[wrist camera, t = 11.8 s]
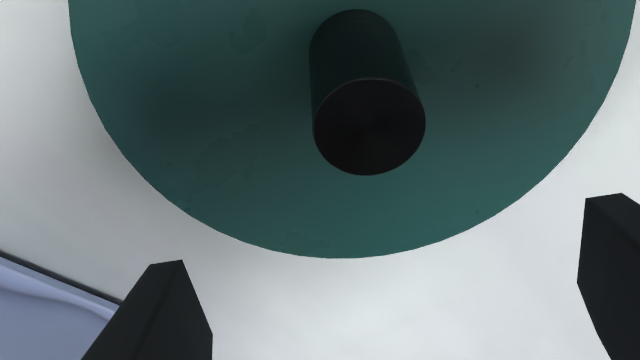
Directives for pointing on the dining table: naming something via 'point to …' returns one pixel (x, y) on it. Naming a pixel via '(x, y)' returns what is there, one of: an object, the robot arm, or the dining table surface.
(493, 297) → the dining table surface
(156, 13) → the tin lid
